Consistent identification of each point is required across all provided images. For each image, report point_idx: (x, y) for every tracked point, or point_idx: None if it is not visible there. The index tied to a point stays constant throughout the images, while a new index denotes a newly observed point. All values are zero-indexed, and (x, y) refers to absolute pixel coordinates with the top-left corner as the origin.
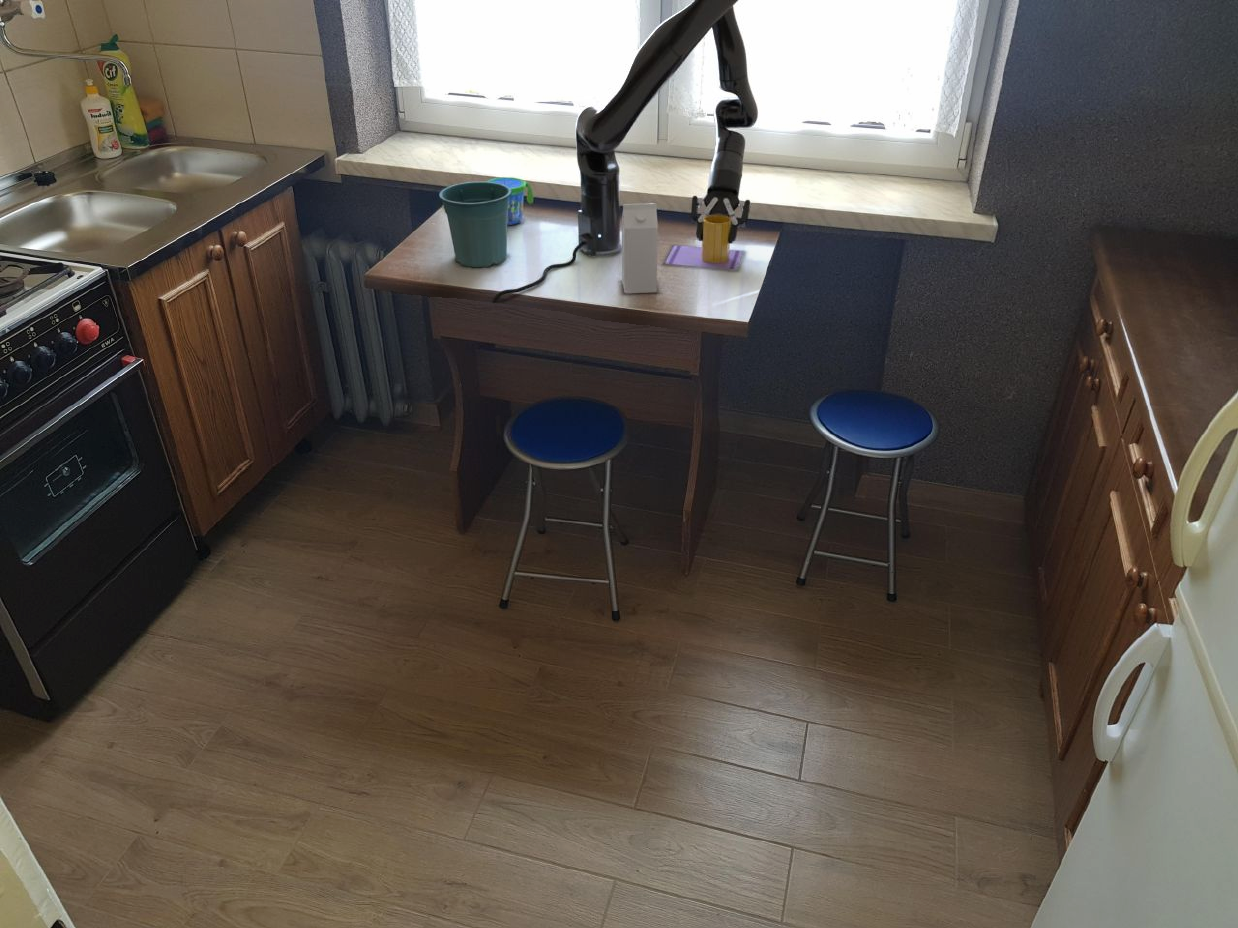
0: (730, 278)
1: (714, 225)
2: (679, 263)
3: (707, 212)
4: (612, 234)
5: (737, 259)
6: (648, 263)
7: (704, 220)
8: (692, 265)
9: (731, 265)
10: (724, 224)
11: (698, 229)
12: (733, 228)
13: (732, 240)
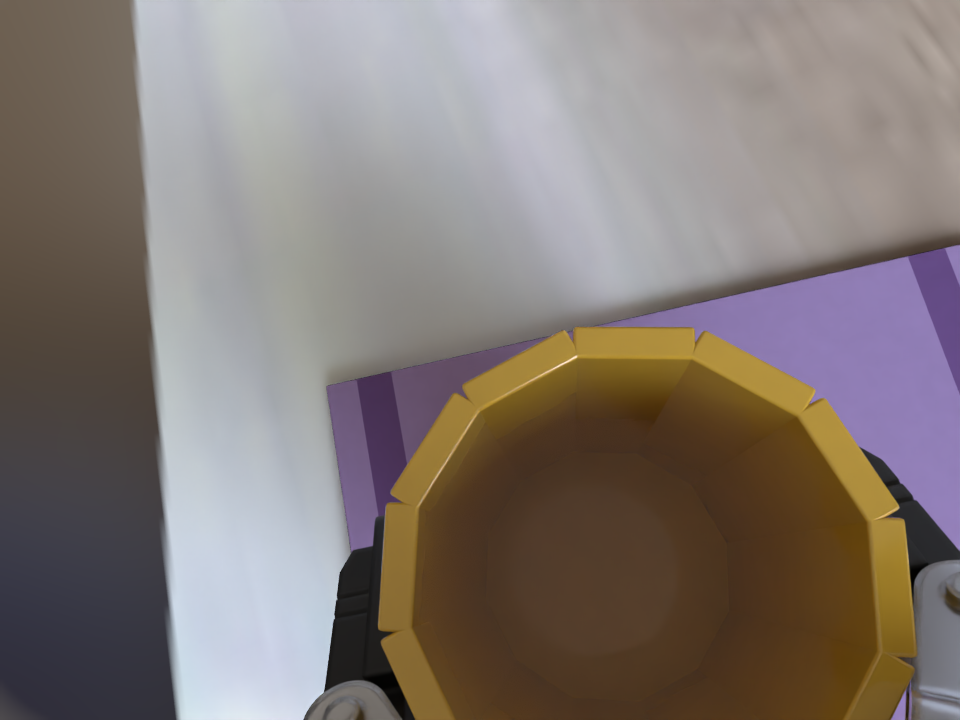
0: (334, 231)
1: (582, 332)
2: (853, 297)
3: (936, 715)
4: None
5: None
6: None
7: (820, 406)
8: (722, 308)
9: (397, 460)
10: (438, 424)
11: None
12: (366, 633)
13: None
